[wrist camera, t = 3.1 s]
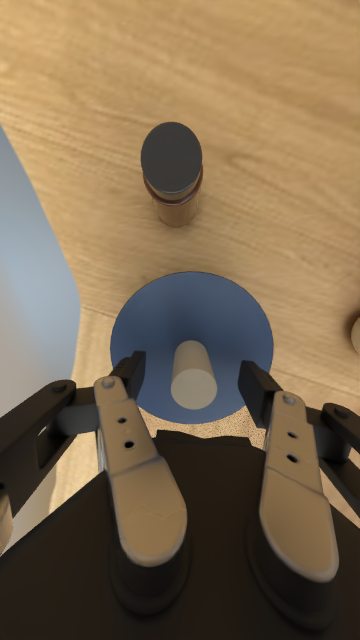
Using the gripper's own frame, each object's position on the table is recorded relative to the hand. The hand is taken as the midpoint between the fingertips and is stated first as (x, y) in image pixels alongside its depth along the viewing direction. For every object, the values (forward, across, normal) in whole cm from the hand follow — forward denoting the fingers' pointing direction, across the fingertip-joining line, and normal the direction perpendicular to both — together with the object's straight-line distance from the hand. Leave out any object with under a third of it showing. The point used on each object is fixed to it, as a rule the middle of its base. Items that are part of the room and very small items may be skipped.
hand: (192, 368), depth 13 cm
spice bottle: (+9, +2, -13) cm, 16 cm away
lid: (+3, 0, 0) cm, 3 cm away
